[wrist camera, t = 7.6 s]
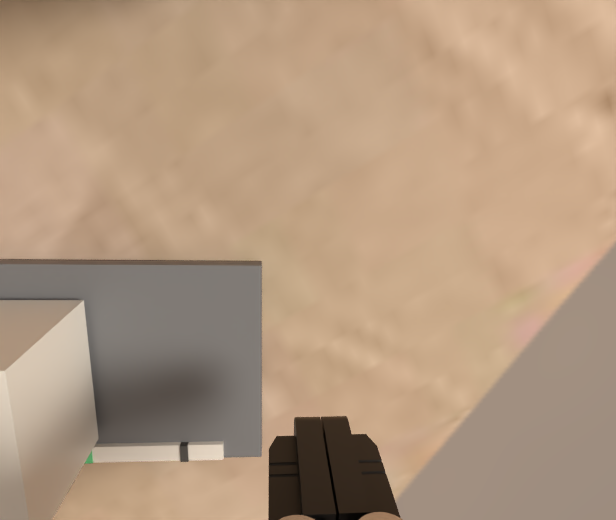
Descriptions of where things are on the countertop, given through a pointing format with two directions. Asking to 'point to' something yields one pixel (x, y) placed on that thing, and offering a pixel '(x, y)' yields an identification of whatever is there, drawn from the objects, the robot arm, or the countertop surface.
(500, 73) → the countertop surface
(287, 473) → the robot arm
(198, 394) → the frame
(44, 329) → the block
